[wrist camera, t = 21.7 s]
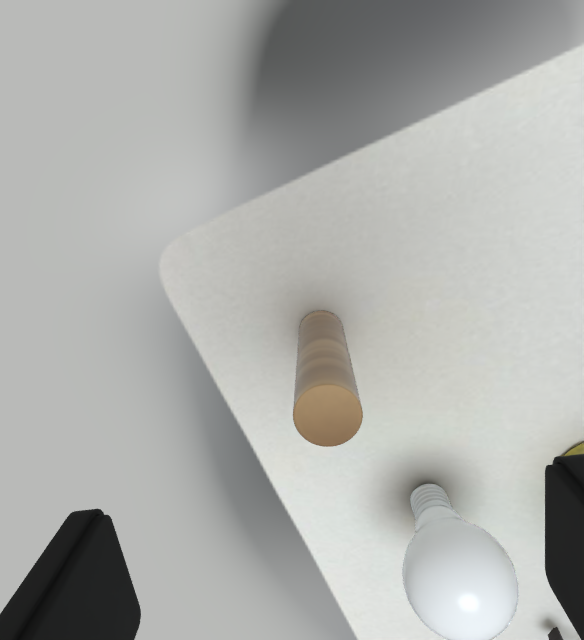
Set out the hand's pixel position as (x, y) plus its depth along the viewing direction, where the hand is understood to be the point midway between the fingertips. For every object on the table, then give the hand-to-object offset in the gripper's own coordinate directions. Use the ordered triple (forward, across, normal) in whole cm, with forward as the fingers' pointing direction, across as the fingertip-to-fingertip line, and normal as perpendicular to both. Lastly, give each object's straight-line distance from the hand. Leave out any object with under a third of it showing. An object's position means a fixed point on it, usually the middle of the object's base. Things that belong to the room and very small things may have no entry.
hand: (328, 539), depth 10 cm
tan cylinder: (+22, 0, +3) cm, 22 cm away
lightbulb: (+22, -6, +16) cm, 28 cm away
